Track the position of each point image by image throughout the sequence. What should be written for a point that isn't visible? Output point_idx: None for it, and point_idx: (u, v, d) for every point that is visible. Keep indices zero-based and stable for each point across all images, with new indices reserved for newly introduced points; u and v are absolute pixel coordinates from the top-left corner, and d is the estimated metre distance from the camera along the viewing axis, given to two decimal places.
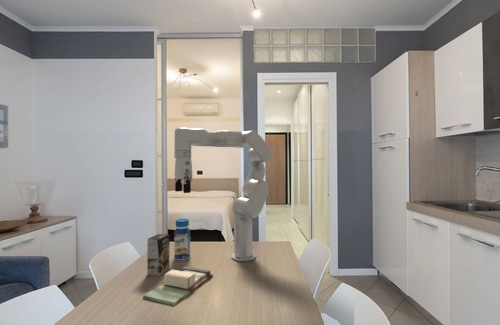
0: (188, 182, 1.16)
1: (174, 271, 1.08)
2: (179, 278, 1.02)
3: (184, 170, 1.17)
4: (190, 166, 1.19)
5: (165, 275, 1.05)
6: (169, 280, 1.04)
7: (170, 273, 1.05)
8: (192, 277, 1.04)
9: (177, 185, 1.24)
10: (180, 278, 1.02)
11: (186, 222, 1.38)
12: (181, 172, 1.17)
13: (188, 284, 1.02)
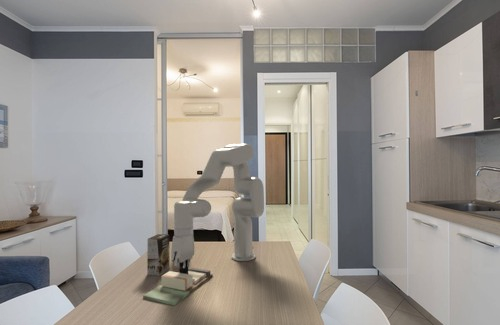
0: None
1: (171, 273, 1.06)
2: (176, 280, 1.01)
3: None
4: None
5: (162, 277, 1.03)
6: (166, 282, 1.02)
7: (167, 275, 1.04)
8: (190, 278, 1.03)
9: None
10: (177, 280, 1.01)
11: None
12: (193, 249, 1.11)
13: (186, 286, 1.00)
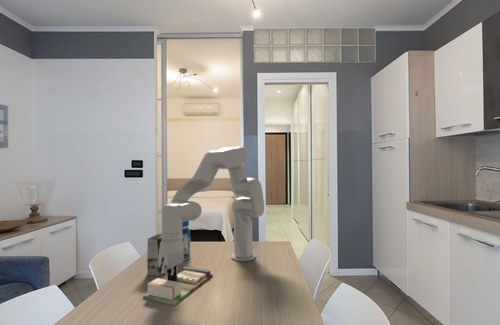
0: None
1: (159, 280, 0.99)
2: (163, 288, 0.94)
3: None
4: None
5: (148, 284, 0.96)
6: (153, 290, 0.96)
7: (154, 283, 0.97)
8: (178, 286, 0.96)
9: None
10: (164, 288, 0.94)
11: (186, 222, 1.38)
12: (182, 254, 1.04)
13: (173, 295, 0.93)
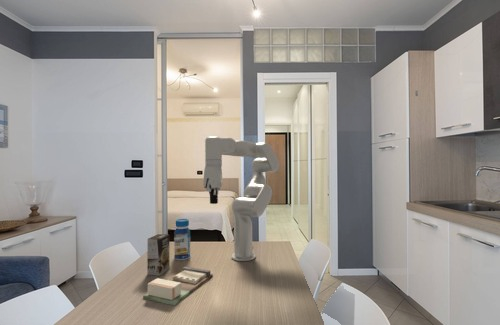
0: None
1: (159, 280, 0.99)
2: (163, 288, 0.94)
3: None
4: None
5: (148, 284, 0.96)
6: (153, 290, 0.96)
7: (154, 283, 0.97)
8: (178, 286, 0.96)
9: None
10: (164, 288, 0.94)
11: (186, 222, 1.38)
12: (221, 180, 1.24)
13: (173, 295, 0.93)
